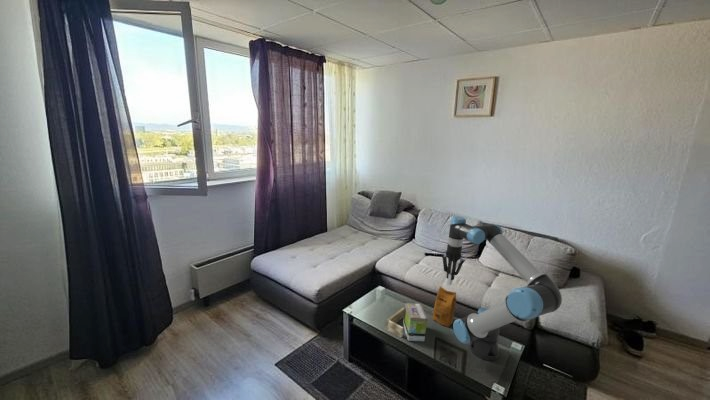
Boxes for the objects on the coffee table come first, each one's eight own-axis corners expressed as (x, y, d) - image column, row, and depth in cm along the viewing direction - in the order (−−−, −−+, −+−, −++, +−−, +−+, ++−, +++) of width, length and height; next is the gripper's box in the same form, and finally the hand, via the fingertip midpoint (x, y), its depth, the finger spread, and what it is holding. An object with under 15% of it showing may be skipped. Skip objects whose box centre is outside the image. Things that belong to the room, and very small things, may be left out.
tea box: (425, 341, 161) (428, 318, 158) (407, 341, 161) (410, 317, 158) (418, 324, 176) (421, 303, 173) (402, 324, 176) (404, 302, 172)
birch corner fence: (417, 322, 178) (418, 314, 176) (401, 337, 163) (401, 328, 162) (402, 315, 184) (402, 307, 183) (385, 329, 170) (386, 320, 169)
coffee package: (437, 313, 189) (441, 282, 184) (455, 322, 180) (460, 290, 175) (429, 319, 182) (433, 287, 177) (447, 329, 173) (452, 296, 169)
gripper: (469, 246, 155) (463, 286, 160) (446, 240, 163) (441, 278, 168) (464, 250, 149) (458, 291, 154) (440, 243, 157) (435, 282, 162)
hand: (449, 284), depth 161 cm, fingers closed
